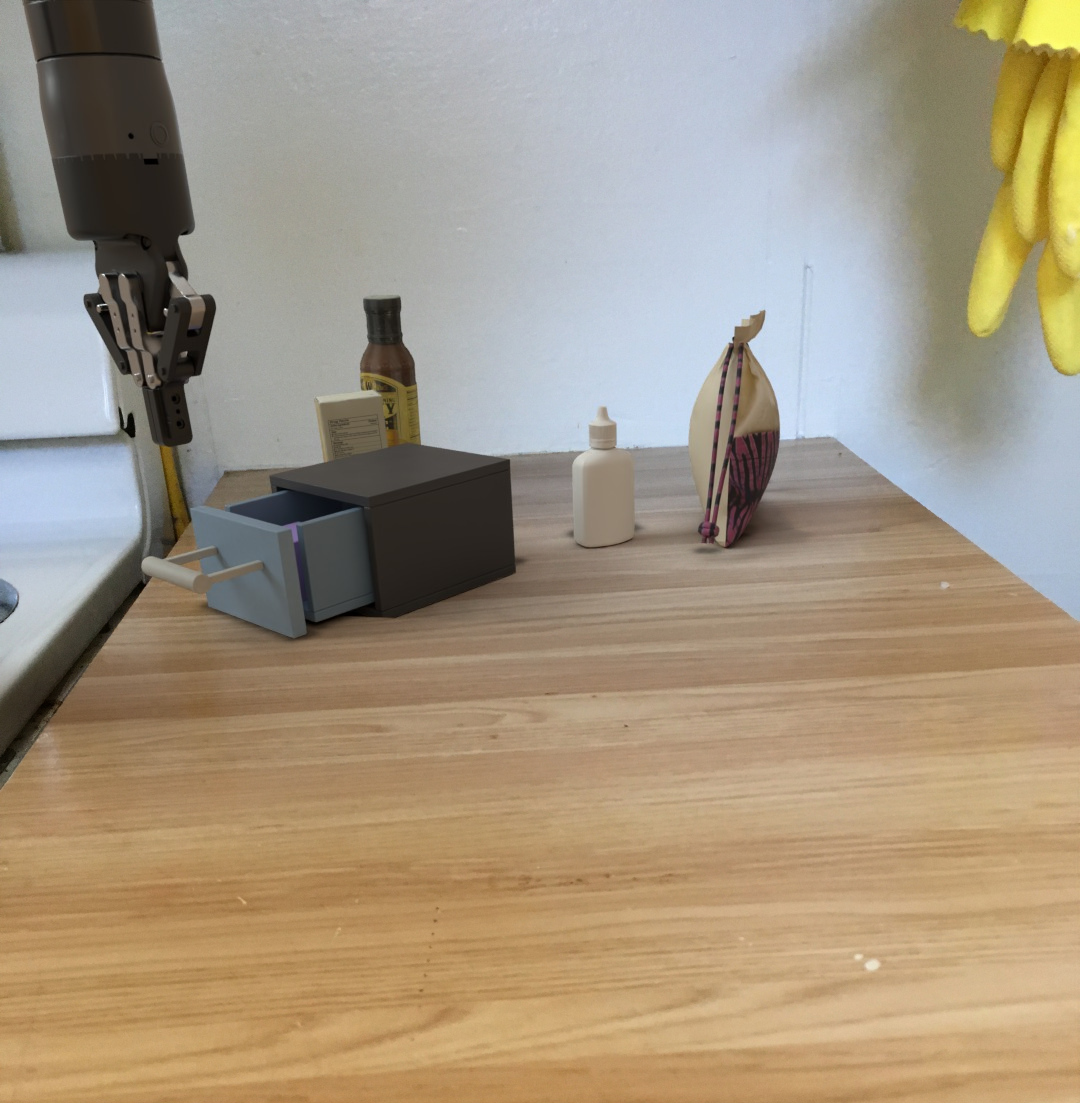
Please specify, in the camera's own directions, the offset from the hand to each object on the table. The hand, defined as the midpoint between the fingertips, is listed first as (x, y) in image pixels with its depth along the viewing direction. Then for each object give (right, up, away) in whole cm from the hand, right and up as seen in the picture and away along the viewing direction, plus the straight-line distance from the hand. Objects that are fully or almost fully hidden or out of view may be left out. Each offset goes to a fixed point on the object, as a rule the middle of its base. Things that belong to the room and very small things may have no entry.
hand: (173, 443), depth 71 cm
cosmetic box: (+6, +2, +37) cm, 38 cm away
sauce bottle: (+8, +9, +52) cm, 53 cm away
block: (+4, -7, +8) cm, 12 cm away
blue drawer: (+5, -10, +11) cm, 16 cm away
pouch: (+43, 0, +30) cm, 52 cm away
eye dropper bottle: (+30, -2, +26) cm, 40 cm away
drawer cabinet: (+13, -7, +18) cm, 23 cm away
